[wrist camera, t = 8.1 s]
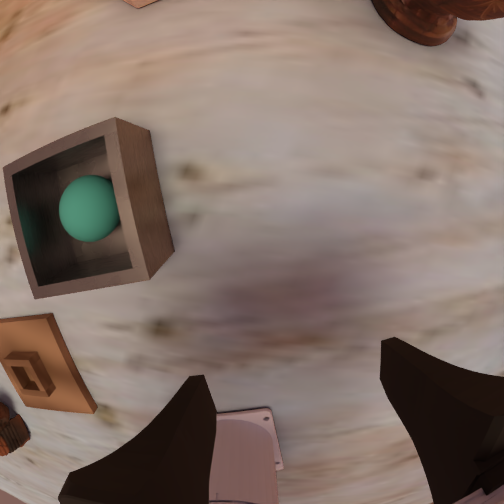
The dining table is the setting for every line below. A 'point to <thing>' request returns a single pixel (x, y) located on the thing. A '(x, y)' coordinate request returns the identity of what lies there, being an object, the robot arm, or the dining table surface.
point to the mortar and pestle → (434, 16)
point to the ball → (89, 208)
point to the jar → (139, 2)
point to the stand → (42, 365)
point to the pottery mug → (11, 431)
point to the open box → (128, 202)
